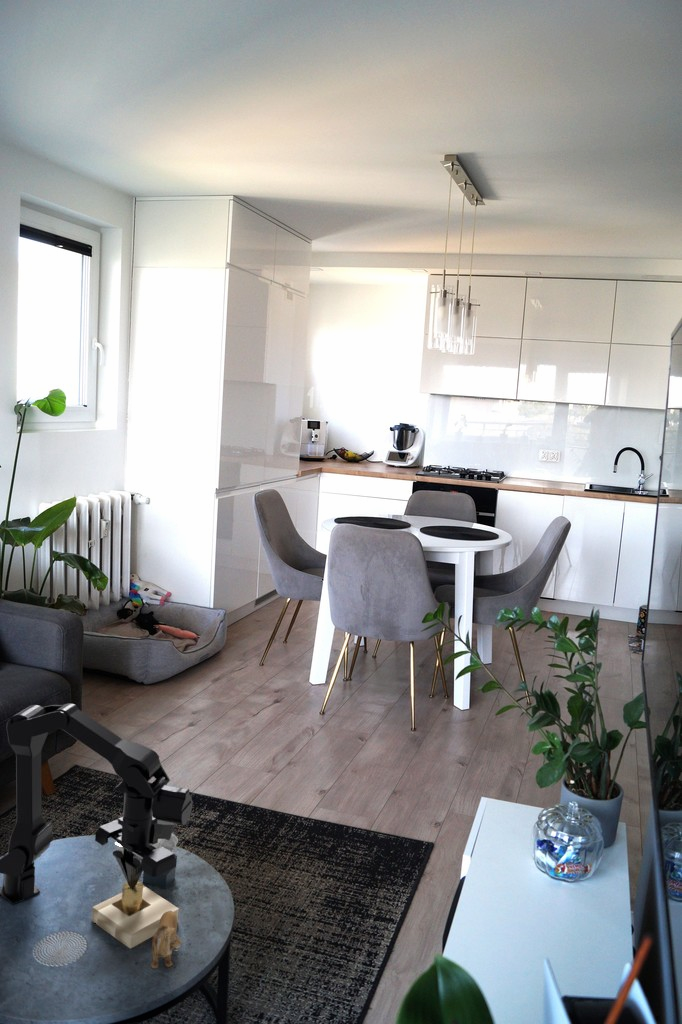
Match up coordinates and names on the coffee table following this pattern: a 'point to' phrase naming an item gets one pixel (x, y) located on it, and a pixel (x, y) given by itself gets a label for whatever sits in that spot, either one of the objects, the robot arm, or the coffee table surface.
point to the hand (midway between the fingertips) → (132, 886)
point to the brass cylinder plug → (131, 898)
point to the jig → (132, 918)
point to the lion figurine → (165, 939)
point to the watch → (168, 876)
